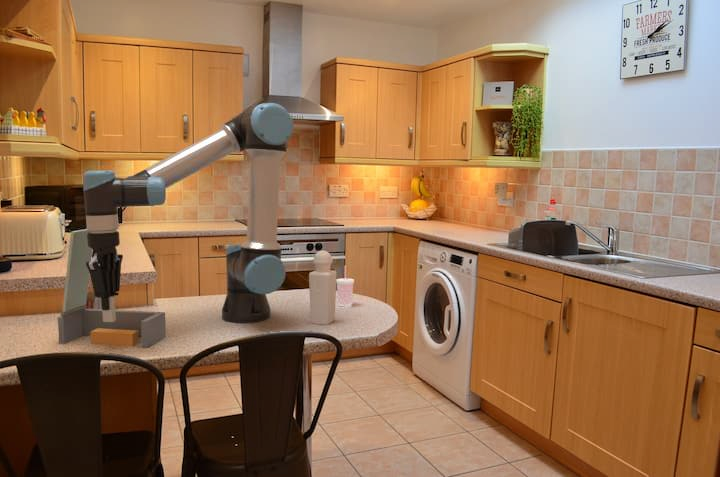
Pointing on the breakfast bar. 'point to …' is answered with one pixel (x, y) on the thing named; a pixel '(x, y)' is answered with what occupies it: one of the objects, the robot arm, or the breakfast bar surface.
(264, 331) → the breakfast bar surface
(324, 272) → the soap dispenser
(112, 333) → the orange block
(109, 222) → the robot arm
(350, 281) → the beverage cup
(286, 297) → the breakfast bar surface
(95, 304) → the tin
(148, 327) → the grey u-shaped bracket
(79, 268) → the cover
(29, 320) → the breakfast bar surface
